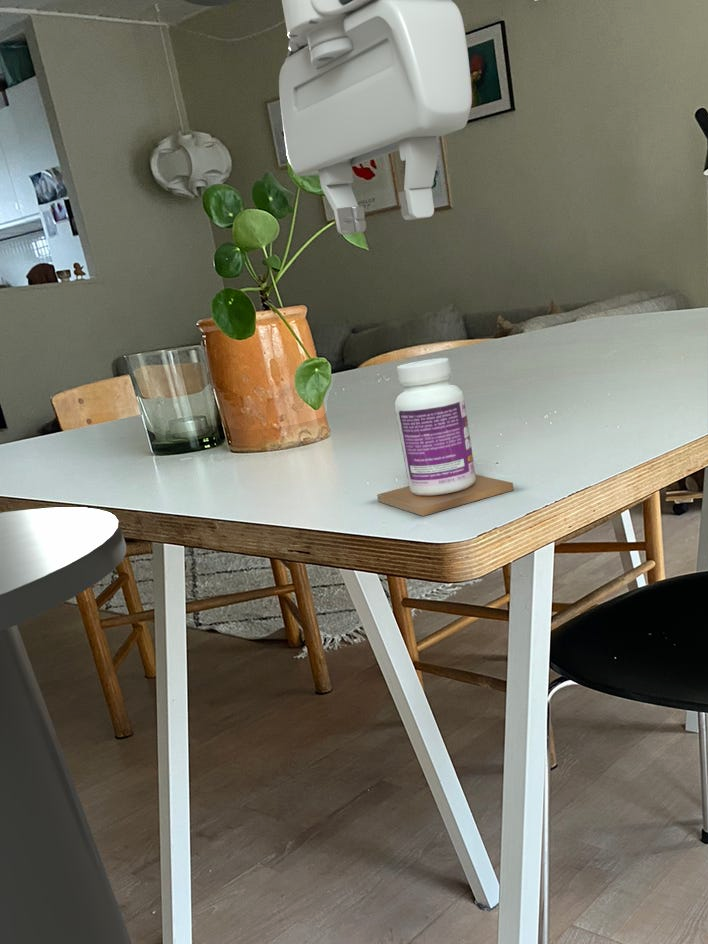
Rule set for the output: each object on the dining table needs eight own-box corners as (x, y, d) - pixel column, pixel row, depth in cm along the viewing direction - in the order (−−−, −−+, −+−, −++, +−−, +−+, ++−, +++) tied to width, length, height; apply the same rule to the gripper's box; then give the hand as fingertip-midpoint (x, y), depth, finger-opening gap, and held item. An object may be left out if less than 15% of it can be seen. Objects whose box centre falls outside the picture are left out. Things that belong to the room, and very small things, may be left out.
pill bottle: (489, 484, 72) (470, 356, 68) (426, 501, 70) (404, 369, 66) (459, 476, 76) (440, 355, 73) (399, 491, 74) (377, 367, 71)
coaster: (422, 516, 68) (421, 508, 68) (377, 501, 75) (376, 494, 74) (514, 490, 71) (513, 482, 71) (463, 478, 78) (462, 471, 78)
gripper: (244, 42, 68) (283, 245, 73) (384, -55, 52) (422, 212, 58) (320, 42, 71) (353, 237, 77) (474, -49, 56) (502, 204, 61)
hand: (384, 226), depth 67 cm, fingers open, 8 cm apart
